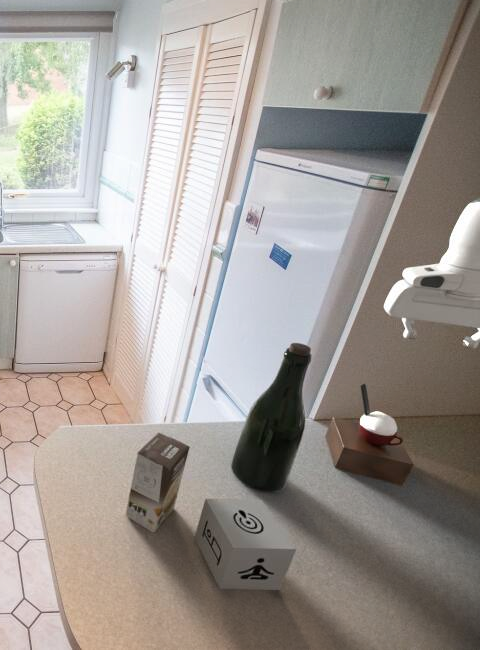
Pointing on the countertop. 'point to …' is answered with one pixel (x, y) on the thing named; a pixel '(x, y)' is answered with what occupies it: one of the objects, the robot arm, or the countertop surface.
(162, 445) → the coffee box
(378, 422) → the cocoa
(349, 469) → the walnut block
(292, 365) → the beer bottle
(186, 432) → the countertop surface
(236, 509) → the icon cube
